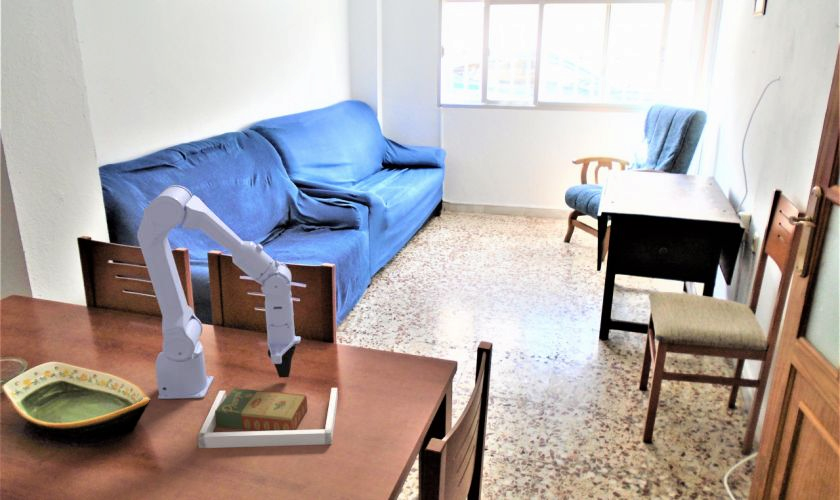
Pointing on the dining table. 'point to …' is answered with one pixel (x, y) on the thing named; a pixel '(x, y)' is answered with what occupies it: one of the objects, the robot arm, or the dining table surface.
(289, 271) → the robot arm
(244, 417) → the carton
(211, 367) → the dining table surface
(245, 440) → the bay
